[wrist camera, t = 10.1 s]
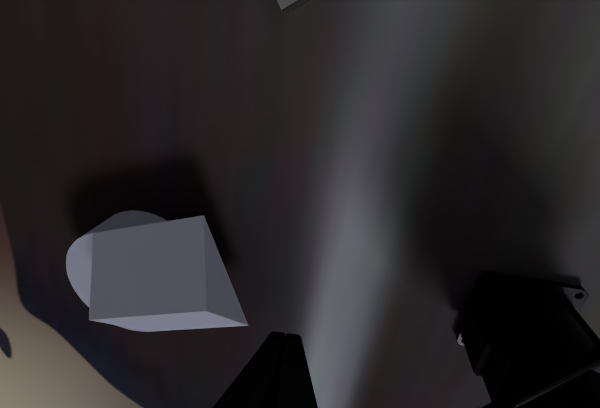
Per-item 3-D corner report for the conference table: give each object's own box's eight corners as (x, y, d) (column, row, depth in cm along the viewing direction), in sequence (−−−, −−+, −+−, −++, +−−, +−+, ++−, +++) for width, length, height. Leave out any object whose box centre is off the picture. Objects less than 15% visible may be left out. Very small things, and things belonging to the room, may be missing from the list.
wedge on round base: (224, 193, 23) (79, 218, 26) (175, 244, 17) (-4, 269, 20) (260, 294, 26) (128, 305, 30) (231, 366, 20) (70, 370, 24)
